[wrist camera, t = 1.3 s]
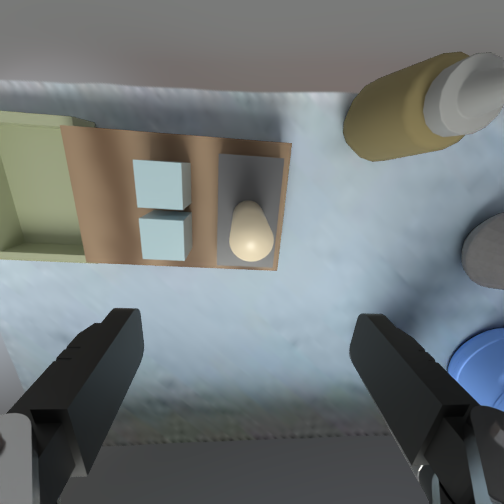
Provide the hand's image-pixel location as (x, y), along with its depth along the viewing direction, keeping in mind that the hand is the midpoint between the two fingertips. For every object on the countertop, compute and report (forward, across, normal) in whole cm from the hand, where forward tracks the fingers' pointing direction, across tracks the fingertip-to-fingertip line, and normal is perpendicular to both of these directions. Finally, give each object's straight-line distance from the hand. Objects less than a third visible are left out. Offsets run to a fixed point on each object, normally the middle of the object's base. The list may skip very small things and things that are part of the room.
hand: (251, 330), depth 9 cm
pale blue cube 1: (+19, +7, -3) cm, 20 cm away
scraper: (+18, -1, -1) cm, 19 cm away
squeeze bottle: (+24, -15, -11) cm, 31 cm away
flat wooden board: (+25, +6, -1) cm, 25 cm away
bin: (+25, +23, -1) cm, 34 cm away
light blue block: (+19, +7, +2) cm, 20 cm away
